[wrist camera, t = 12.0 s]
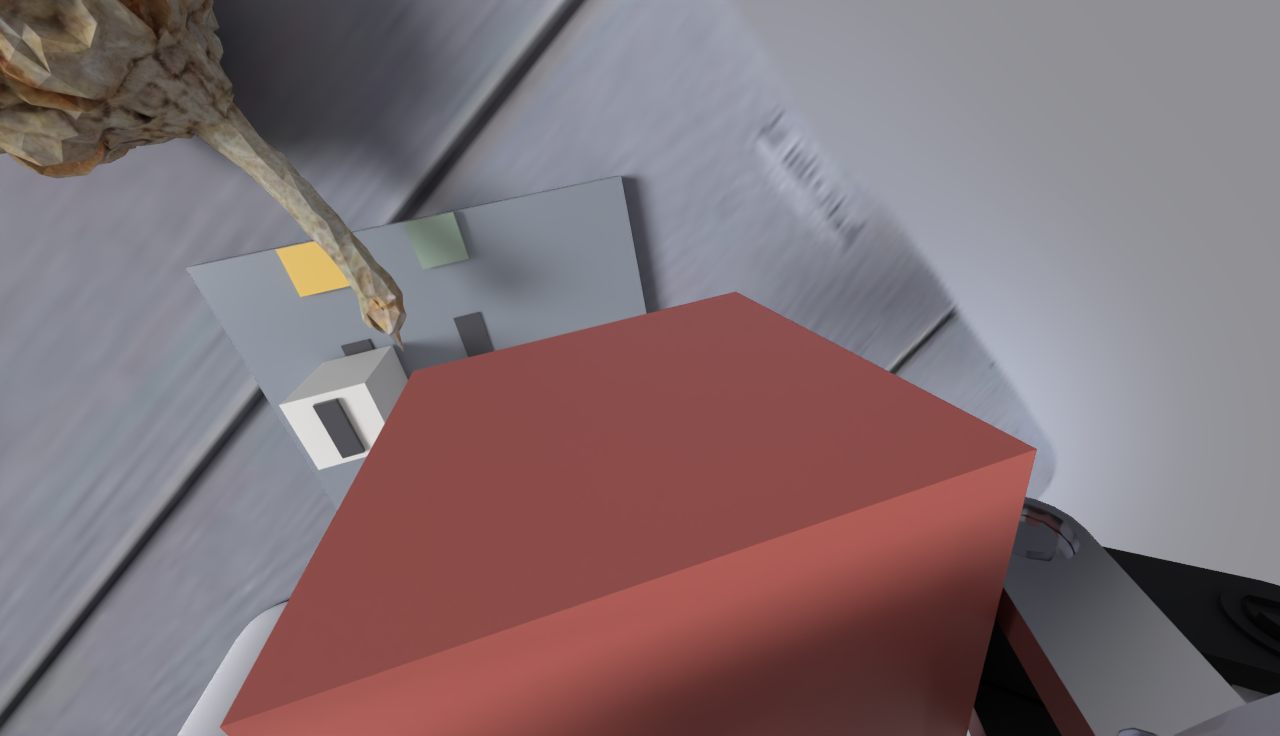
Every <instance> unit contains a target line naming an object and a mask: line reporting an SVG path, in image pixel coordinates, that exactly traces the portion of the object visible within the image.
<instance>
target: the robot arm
mask: <svg viewBox="0 0 1280 736" xmlns="http://www.w3.org/2000/svg"><path fill="white" fill-rule="evenodd" d="M968 730H969V732H970V735H971V736H1280V586H1279V585H1275V584H1271V583H1268V582H1264V581H1261V580H1256V579H1251V578H1247V577H1242V576H1237V575H1233V574H1228V573H1223V572H1219V571H1214V570H1209V569H1205V568H1200V567H1195V566H1191V565H1186V564H1181V563H1177V562H1172V561H1167V560H1163V559H1158V558H1153V557H1149V556H1144V555H1140V554H1135V553H1130V552H1126V551H1120V550H1116V549H1111V548H1107V547H1102V546H1101V545H1100V544H1099V543H1098V542H1097V541H1096V540H1095V539H1094V537H1093V536H1092V535H1091V534H1090V533H1089V532H1088V531H1087V530H1086V529H1085V528H1084V527H1083V526H1082V525H1081V524H1079V523H1078V522H1077V521H1076V520H1075V519H1074V518H1072V517H1071V516H1069V515H1068V514H1066V513H1064V512H1062V511H1061V510H1059V509H1057V508H1056V507H1054V506H1051V505H1049V504H1046V503H1043V502H1041V501H1038V500H1036V499H1032V498H1028V497H1025V499H1024V504H1023V508H1022V512H1021V516H1020V520H1019V524H1018V528H1017V532H1016V536H1015V540H1014V544H1013V548H1012V552H1011V556H1010V560H1009V565H1008V569H1007V573H1006V577H1005V581H1004V585H1003V589H1002V593H1001V597H1000V601H999V605H998V609H997V613H996V617H995V621H994V626H993V630H992V634H991V638H990V642H989V646H988V650H987V654H986V658H985V662H984V666H983V670H982V674H981V678H980V682H979V687H978V691H977V695H976V699H975V703H974V707H973V711H972V715H971V719H970V723H969V727H968Z"/></svg>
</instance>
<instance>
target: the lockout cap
mask: <svg viewBox="0 0 1280 736" xmlns="http://www.w3.org/2000/svg"><path fill="white" fill-rule="evenodd" d="M1036 451H1037V449H1036V448H1034V447H1032V446H1030V445H1028V444H1026V443H1024V442H1022V441H1020V440H1018V439H1016V438H1015V437H1013V436H1011V435H1009V434H1007V433H1005V432H1003V431H1001V430H999V429H997V428H995V427H994V426H992V425H990V424H988V423H986V422H984V421H982V420H980V419H978V418H976V417H974V416H972V415H971V414H969V413H967V412H965V411H963V410H961V409H959V408H957V407H955V406H953V405H951V404H950V403H948V402H946V401H944V400H942V399H940V398H938V397H936V396H934V395H932V394H930V393H929V392H927V391H925V390H923V389H921V388H919V387H917V386H915V385H913V384H911V383H909V382H907V381H906V380H904V379H902V378H900V377H898V376H896V375H894V374H892V373H890V372H888V371H886V370H885V369H883V368H881V367H879V366H877V365H875V364H873V363H871V362H869V361H867V360H865V359H863V358H862V357H860V356H858V355H856V354H854V353H852V352H850V351H848V350H846V349H844V348H842V347H841V346H839V345H837V344H835V343H833V342H831V341H829V340H827V339H825V338H823V337H821V336H820V335H818V334H816V333H814V332H812V331H810V330H808V329H806V328H804V327H802V326H800V325H798V324H797V323H795V322H793V321H791V320H789V319H787V318H785V317H783V316H781V315H779V314H777V313H776V312H774V311H772V310H770V309H768V308H766V307H764V306H762V305H760V304H758V303H756V302H754V301H753V300H751V299H749V298H747V297H745V296H743V295H741V294H739V293H737V292H733V293H729V294H724V295H720V296H716V297H712V298H708V299H704V300H700V301H696V302H692V303H688V304H684V305H680V306H676V307H672V308H668V309H664V310H659V311H655V312H651V313H647V314H643V315H639V316H635V317H631V318H627V319H623V320H619V321H615V322H611V323H607V324H603V325H598V326H594V327H590V328H586V329H582V330H578V331H574V332H570V333H566V334H562V335H558V336H554V337H550V338H546V339H542V340H537V341H533V342H529V343H525V344H521V345H517V346H513V347H509V348H505V349H501V350H497V351H493V352H489V353H485V354H481V355H476V356H472V357H468V358H464V359H460V360H456V361H452V362H448V363H444V364H440V365H436V366H432V367H428V368H424V369H420V370H416V371H413V372H412V374H411V376H410V378H409V380H408V382H407V384H406V385H405V387H404V389H403V391H402V393H401V395H400V396H399V398H398V400H397V402H396V404H395V406H394V407H393V409H392V411H391V413H390V415H389V417H388V418H387V420H386V422H385V424H384V426H383V428H382V430H381V431H380V433H379V435H378V437H377V439H376V441H375V442H374V444H373V446H372V448H371V450H370V452H369V453H368V455H367V457H366V459H365V461H364V463H363V464H362V466H361V468H360V470H359V472H358V474H357V475H356V477H355V479H354V481H353V483H352V485H351V487H350V488H349V490H348V492H347V494H346V496H345V498H344V499H343V501H342V503H341V505H340V507H339V509H338V510H337V512H336V514H335V516H334V518H333V520H332V521H331V523H330V525H329V527H328V529H327V531H326V532H325V534H324V536H323V538H322V540H321V542H320V544H319V545H318V547H317V549H316V551H315V553H314V555H313V556H312V558H311V560H310V562H309V564H308V566H307V567H306V569H305V571H304V573H303V575H302V577H301V578H300V580H299V582H298V584H297V586H296V588H295V589H294V591H293V593H292V595H291V597H290V599H289V601H288V602H287V604H286V606H285V608H284V610H283V612H282V613H281V615H280V617H279V619H278V621H277V623H276V624H275V626H274V628H273V630H272V632H271V634H270V635H269V637H268V639H267V641H266V643H265V645H264V647H263V648H262V650H261V652H260V654H259V656H258V658H257V659H256V661H255V663H254V665H253V667H252V669H251V670H250V672H249V674H248V676H247V678H246V680H245V681H244V683H243V685H242V687H241V689H240V691H239V692H238V694H237V696H236V698H235V700H234V702H233V704H232V705H231V707H230V709H229V711H228V713H227V715H226V716H225V718H224V720H223V722H222V724H221V726H220V728H221V729H222V730H223V731H224V732H225V733H226V734H227V735H228V736H966V735H967V731H968V727H969V723H970V719H971V715H972V711H973V707H974V703H975V699H976V695H977V691H978V687H979V682H980V678H981V674H982V670H983V666H984V662H985V658H986V654H987V650H988V646H989V642H990V638H991V634H992V630H993V626H994V621H995V617H996V613H997V609H998V605H999V601H1000V597H1001V593H1002V589H1003V585H1004V581H1005V577H1006V573H1007V569H1008V565H1009V560H1010V556H1011V552H1012V548H1013V544H1014V540H1015V536H1016V532H1017V528H1018V524H1019V520H1020V516H1021V512H1022V508H1023V504H1024V499H1025V495H1026V491H1027V487H1028V483H1029V479H1030V475H1031V471H1032V467H1033V463H1034V459H1035V455H1036Z"/></svg>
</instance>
